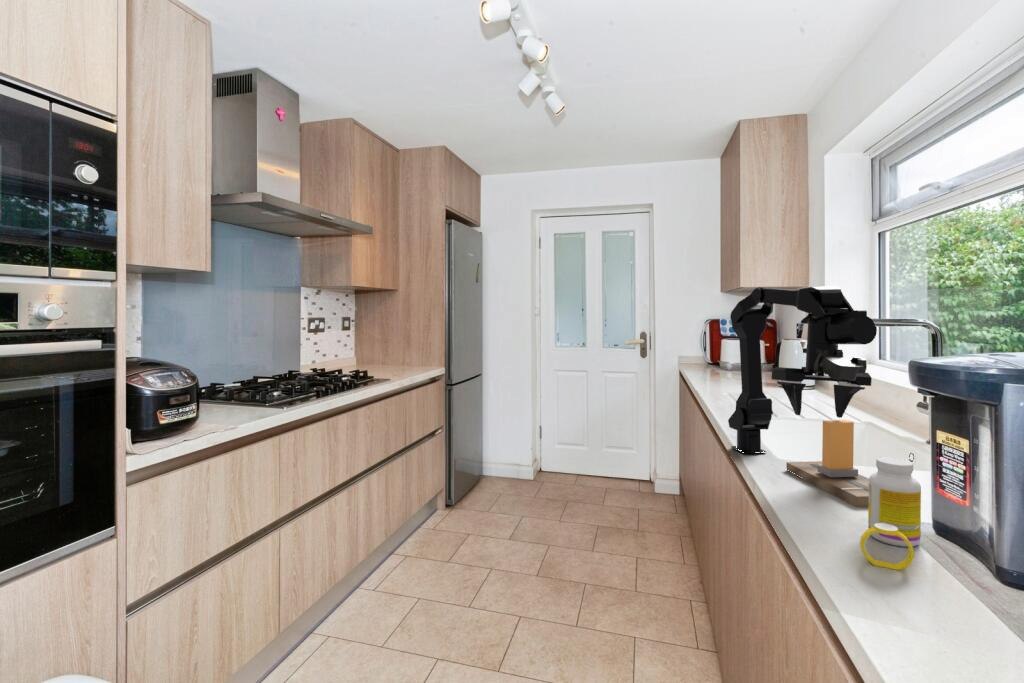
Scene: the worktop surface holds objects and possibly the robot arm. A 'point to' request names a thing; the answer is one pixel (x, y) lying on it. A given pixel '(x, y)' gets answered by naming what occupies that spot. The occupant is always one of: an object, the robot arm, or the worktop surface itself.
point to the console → (834, 483)
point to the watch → (887, 530)
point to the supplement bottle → (895, 501)
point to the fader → (838, 449)
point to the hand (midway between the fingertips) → (818, 416)
